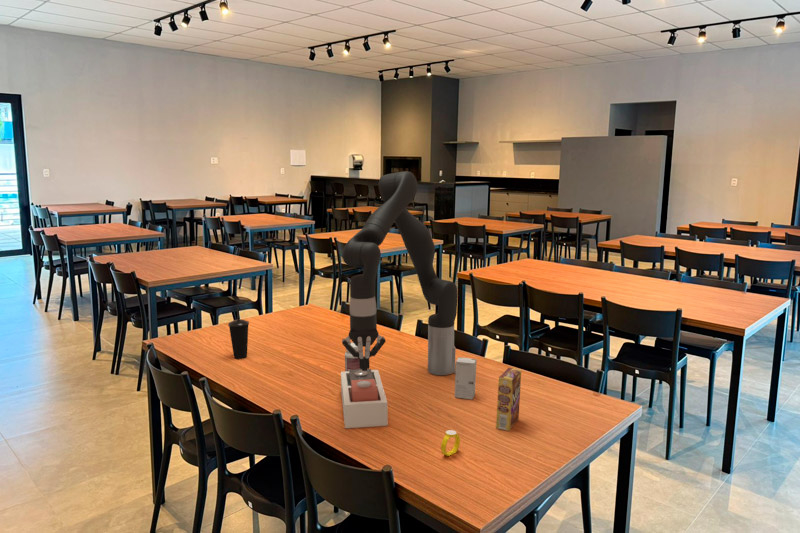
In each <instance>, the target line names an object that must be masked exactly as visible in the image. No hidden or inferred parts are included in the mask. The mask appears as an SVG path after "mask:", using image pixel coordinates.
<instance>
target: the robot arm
mask: <svg viewBox="0 0 800 533" xmlns="http://www.w3.org/2000/svg"><path fill="white" fill-rule="evenodd" d="M378 190H379V194H380V196H381V198H382V200H383V202H384V203H383V204H381V205H380V206H379V207H378V208H376V210H374V211H373V212H372V213H371V214H370V215H369V216H368V218H367V220H366V222H365V223H364V225H363V227H362V229H361V230H359V231H358V232H357V233H356V234H355V235H354V236H352V237H351V238H350V239H349V240H348V241H346V244H345V245H344V247H343V249H342V261H343V262H344V264H345V265H347V266H349V267H351V268H352V267H354V268H364V271H363V272H362V273H361V274H356V275H353V276H352V277H351V278H350V279H349V296H350V298H349V327H350V328H349V332H348V336H346V337H345V338H342V340H341V343H342V345H343V347H344V348H345V350H346V349H347V350H348V351H349V352H350V353H351V354H352V355H353V357H358V358H359V367H360V369H362V371H367V369H370V358H371V357H375V356H376V355H377V354H378V352H379V351H380V350H381V348H382V347H383V346H384V345H385V343H386V338H385V337H384V336H382V335H380V334H379V331H378V329H377V323H378V322H377V301H376V280H377V273H378V270H379V265H380V262H381V257H382V253H381V249H380V247H379V246H381V244H383V243H384V240H385V238H386V237H387V235H388V233H389V232H390V229H391V228H392V226H393V225H394V223H395V225H396V227H397V229H398V232H399V233H400V236H401V239H402V242H403V244H404V247H405V249H406V252H407V254H408V256H409V258H410V261H411V262H412V265H413V268H414V270H415V272H416V275H417V279H418V281H419V285H420V288H421V291H422V292H421V293H422V294H423V297H424V299H425V300H426V302H427V303H429V304H431V305H434V306H437V313H433V314H431V315H429V316H428V319H427V324H428V325H427V328H428V329H427V332H428V334H427V372H428V373H430V374H431V375H435V376H449V375H450V374H455V373H456V352H457V351H456V346H455V320H456V319H457V313H458V312H457V311H458V300H459V299H458V298H459V292H458V288H457V284H456V283H455V282H453V281H451V280H446V279H443V278H442V279H440V278H439V277H438V275H437V273H436V271H435V269H434V264H433V262H434V258H435V253H436V247H435V242H434V240H433V237H432V235H431V232H430V230H429V229H428V227H427V226H426V225H425V224H424V223H423V222H422V221H421V220H419V219H418V218H417V217H416V216H415V215H413V214H412V213H411V212H410V211H409V210H408V209H407V207H408V205H409V204H410V203H411V202H412V201H413V200H414V199H415V197H416V195H417V193H418V180H417V177H416V176H415V175H414V173H412V172H411V171H406V170H405V171H399V172H392V173H387V174H384V175H382V176H380V177H379V180H378ZM375 341H376V343H375ZM351 343H354V344H355V345H356V346H357V347H358V352H357V351H356V350H355V349H354V348H353V347H352V346H351V345H350V344H351ZM374 343H375V345H374V346H373V347H372V348H371V346H372V345H373V344H374Z"/></svg>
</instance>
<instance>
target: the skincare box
mask: <svg viewBox="0 0 800 533" xmlns="http://www.w3.org/2000/svg"><path fill="white" fill-rule="evenodd" d="M454 375H455V379H454V380H455V381H454V398H458V399H466V400H473V399H474V398H475V395H476V381H477V380H476V377H477V358H470V357H458V358H457V359H456V360H455V373H454Z"/></svg>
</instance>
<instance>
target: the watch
mask: <svg viewBox="0 0 800 533" xmlns="http://www.w3.org/2000/svg"><path fill="white" fill-rule="evenodd" d="M450 438H455V439H454V440H455V441H454V445H453V447H452V449H451V450H449V451H447V445H448V441H449V439H450ZM460 444H461V437H460V435H459V434H458V433H457V431H455V430H452V429H448V430H446V431H445V435H444V437H443V438H442V441H441V444H440V445H441V446H440V447H441V448H440V449H441V453H442V454H443V455H444V456H446V457H448V456H449V457H450V455H451V456H453V455H454V454H456V453H457V452H458V450H459V448H460Z"/></svg>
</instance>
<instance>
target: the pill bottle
mask: <svg viewBox="0 0 800 533" xmlns="http://www.w3.org/2000/svg"><path fill="white" fill-rule="evenodd" d="M350 345H351V346H352V347H353V348H354V349H355V350H356V351H357V352H358V347H357V346H356V345H355V344H354V343H353V342H351V344H350ZM354 369H360V367H359V358H358V357H353V355H352V354H351V353H350V352H349V351H348V350H347V349H346V348H345V353H344V372H345V371H349V370H354Z"/></svg>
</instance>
